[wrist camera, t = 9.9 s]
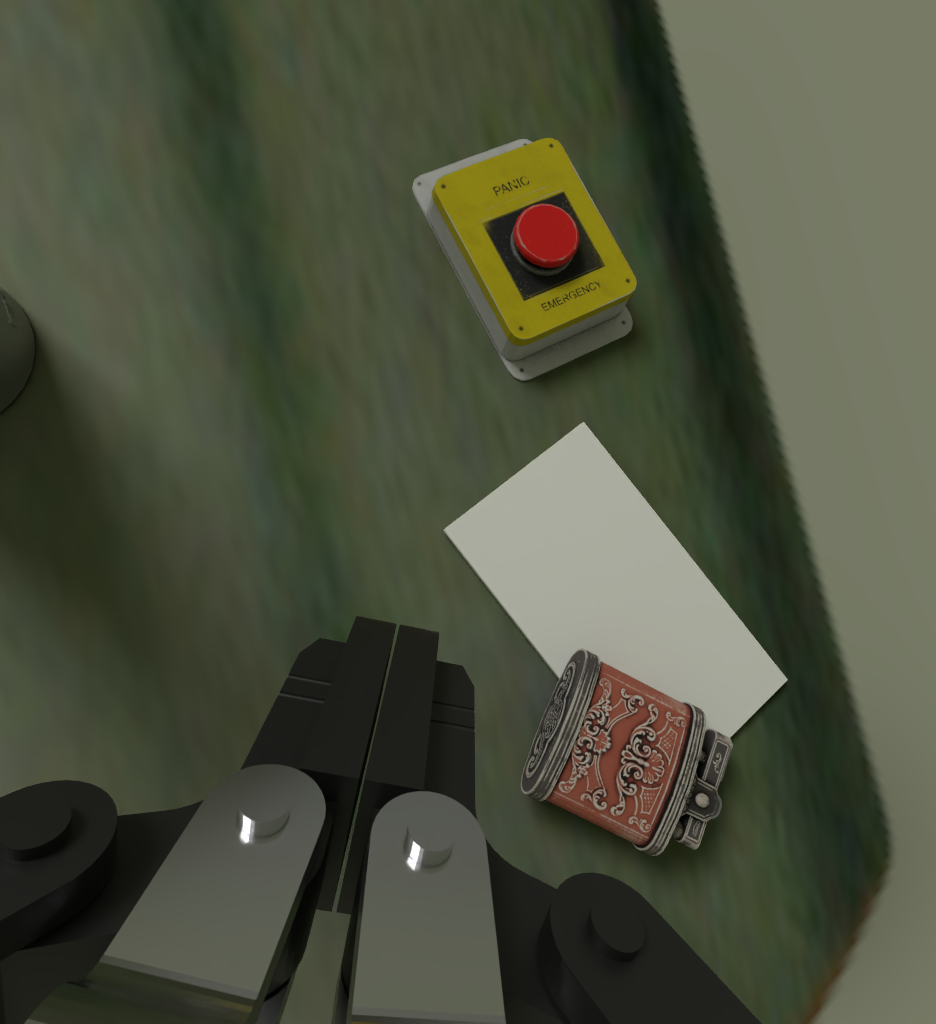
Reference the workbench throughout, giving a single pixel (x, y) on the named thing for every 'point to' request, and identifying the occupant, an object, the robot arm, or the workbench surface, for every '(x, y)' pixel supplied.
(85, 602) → the workbench surface
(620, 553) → the mat
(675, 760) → the lighter
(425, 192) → the emergency button
